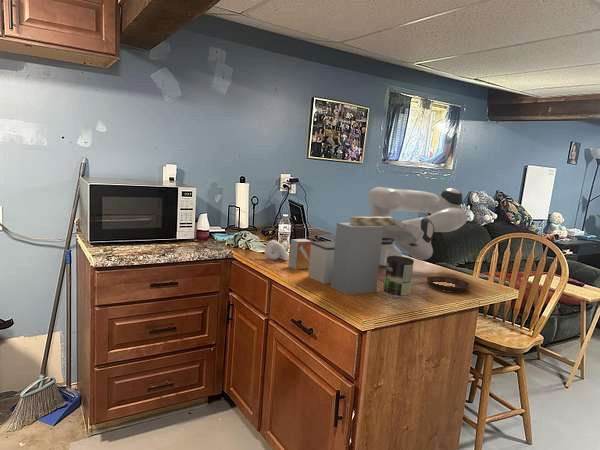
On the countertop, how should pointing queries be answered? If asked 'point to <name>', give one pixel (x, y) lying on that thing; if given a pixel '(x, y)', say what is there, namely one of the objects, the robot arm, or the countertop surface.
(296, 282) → the countertop surface
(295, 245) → the small box
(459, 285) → the plant saucer
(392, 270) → the coffee can
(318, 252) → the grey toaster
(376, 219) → the birch slat
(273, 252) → the grey rounded lump
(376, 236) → the grey stand
